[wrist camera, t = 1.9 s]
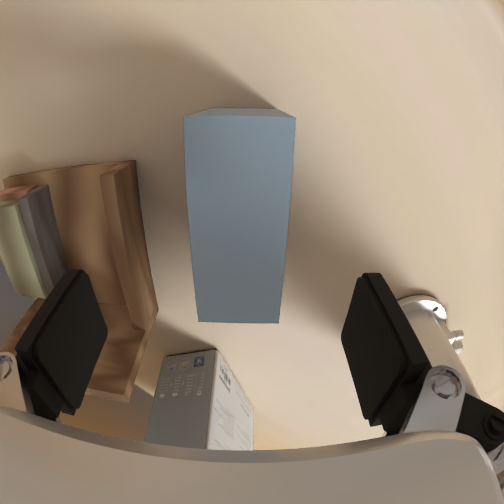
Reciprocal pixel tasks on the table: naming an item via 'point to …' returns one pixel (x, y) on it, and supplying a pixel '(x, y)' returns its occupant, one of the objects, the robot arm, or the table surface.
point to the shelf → (84, 257)
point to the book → (238, 210)
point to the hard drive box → (200, 405)
